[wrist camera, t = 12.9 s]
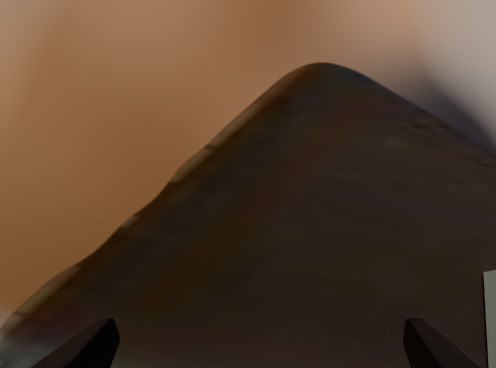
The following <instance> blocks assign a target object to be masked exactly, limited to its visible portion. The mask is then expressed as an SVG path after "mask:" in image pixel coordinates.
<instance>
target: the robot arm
mask: <svg viewBox="0 0 496 368" xmlns="http://www.w3.org/2000/svg"><path fill="white" fill-rule="evenodd" d="M119 341H120V335H119V332H118V330H117V327H116V324H115V321H114V319H112V318H99V319H97V320H96V321H94V322H93V323H92V324H90V325H89V326H87V327H86V328H85V329H83V330H82V331H80V332H79V333H78V334H76V335H75V336H73V337H72V338H71V339H69V340H68V341H67V342H65V343H64V344H62V345H61V346H60V347H58V348H57V349H55V350H54V351H53V352H51V353H50V354H48V355H47V356H46V357H44V358H43V359H42V360H40V361H39V362H37V363H36V364H35V365H33V366H32V367H30V368H110V366H111V364H112V361H113V358H114V356H115V353H116V350H117V348H118V345H119ZM403 344H404V348H405V351H406V354H407V357H408V360H409V363H410V366H411V368H482V367H481V366H480V365H479V364H478V363H476V362H475V361H474V360H473V359H471V358H470V357H469V356H468V355H467V354H465V353H464V352H463V351H462V350H460V349H459V348H458V347H457V346H455V345H454V344H453V343H452V342H451V341H449V340H448V339H447V338H446V337H444V336H443V335H442V334H441V333H440V332H438V331H437V330H436V329H435V328H433V327H432V326H431V325H430V324H428V323H427V322H426V321H425V320H423V319H420V318H409V319H407V320H406V322H405V329H404V337H403Z"/></svg>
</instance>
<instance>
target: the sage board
mask: <svg viewBox="0 0 496 368" xmlns="http://www.w3.org/2000/svg"><path fill="white" fill-rule="evenodd" d="M484 290H485V309H486V327H487V346H488V364H489V368H496V270H493V271H487V272H484Z"/></svg>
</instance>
